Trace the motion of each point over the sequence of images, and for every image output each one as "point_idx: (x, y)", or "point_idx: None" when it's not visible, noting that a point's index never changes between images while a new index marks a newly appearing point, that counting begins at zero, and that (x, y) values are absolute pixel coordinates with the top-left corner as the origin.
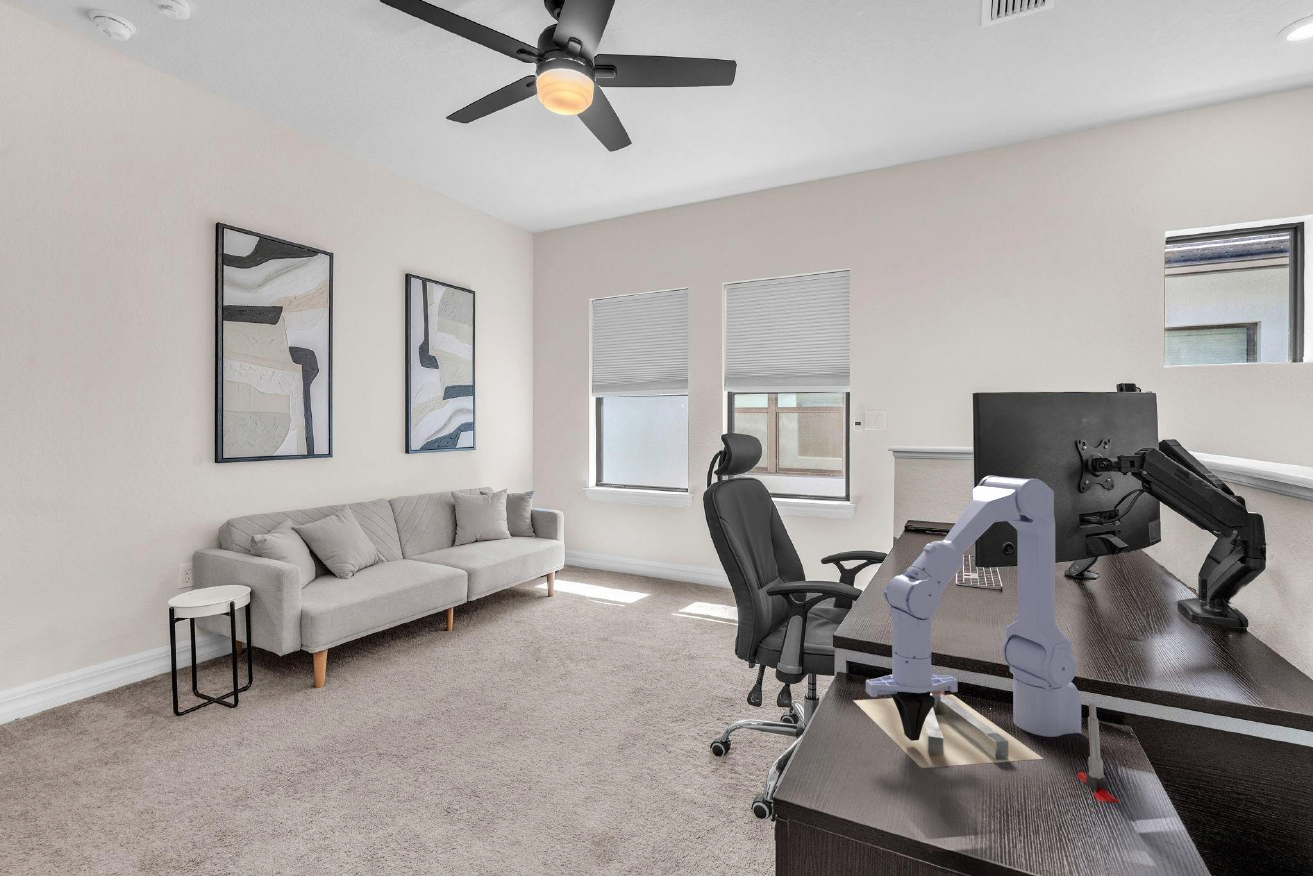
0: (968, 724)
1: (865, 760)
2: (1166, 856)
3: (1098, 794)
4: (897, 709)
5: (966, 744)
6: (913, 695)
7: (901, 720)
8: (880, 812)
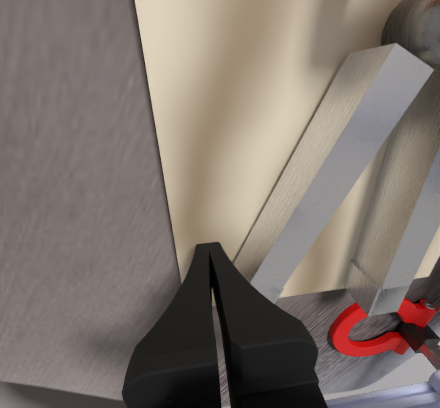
0: (394, 231)
1: (80, 262)
2: (357, 384)
3: (398, 341)
4: None
5: (338, 236)
6: (233, 404)
7: (189, 267)
8: (78, 372)
